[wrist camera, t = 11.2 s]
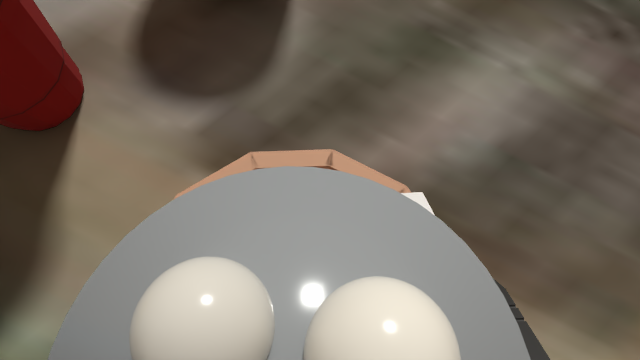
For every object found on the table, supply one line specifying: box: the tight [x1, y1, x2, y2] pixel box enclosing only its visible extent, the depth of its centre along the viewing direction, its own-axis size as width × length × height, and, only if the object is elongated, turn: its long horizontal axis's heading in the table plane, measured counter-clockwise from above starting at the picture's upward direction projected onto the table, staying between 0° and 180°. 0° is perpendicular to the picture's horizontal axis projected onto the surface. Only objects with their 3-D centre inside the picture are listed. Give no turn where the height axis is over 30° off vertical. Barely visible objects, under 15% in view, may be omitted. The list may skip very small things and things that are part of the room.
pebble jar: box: [48, 166, 531, 360], centre depth 10 cm, size 7×7×12 cm
